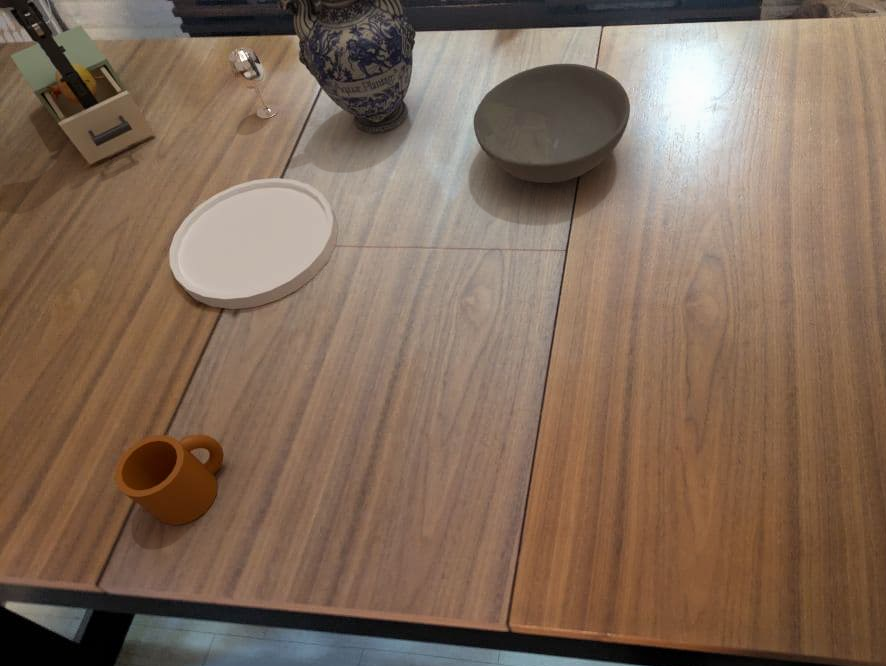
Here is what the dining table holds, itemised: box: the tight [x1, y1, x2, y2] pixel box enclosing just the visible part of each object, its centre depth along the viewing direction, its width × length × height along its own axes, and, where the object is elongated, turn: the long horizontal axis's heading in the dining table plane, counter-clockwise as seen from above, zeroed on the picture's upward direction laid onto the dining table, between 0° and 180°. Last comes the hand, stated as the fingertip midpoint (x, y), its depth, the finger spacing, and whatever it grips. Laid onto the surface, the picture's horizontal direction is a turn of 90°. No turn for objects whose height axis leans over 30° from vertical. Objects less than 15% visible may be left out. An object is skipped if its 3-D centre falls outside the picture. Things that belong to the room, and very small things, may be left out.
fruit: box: [46, 63, 105, 104], centre depth 132 cm, size 7×7×10 cm
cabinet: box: [10, 24, 134, 124], centre depth 143 cm, size 17×15×11 cm
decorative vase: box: [276, 0, 417, 134], centre depth 125 cm, size 21×19×28 cm
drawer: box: [43, 65, 155, 165], centre depth 136 cm, size 20×13×9 cm
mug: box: [114, 433, 224, 526], centre depth 93 cm, size 9×12×9 cm
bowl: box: [473, 63, 631, 184], centre depth 122 cm, size 26×26×10 cm
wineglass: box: [228, 47, 280, 120], centre depth 136 cm, size 6×6×12 cm
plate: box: [168, 177, 339, 310], centre depth 120 cm, size 28×28×2 cm
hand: (86, 98), depth 134 cm, fingers closed on fruit, 7 cm apart
